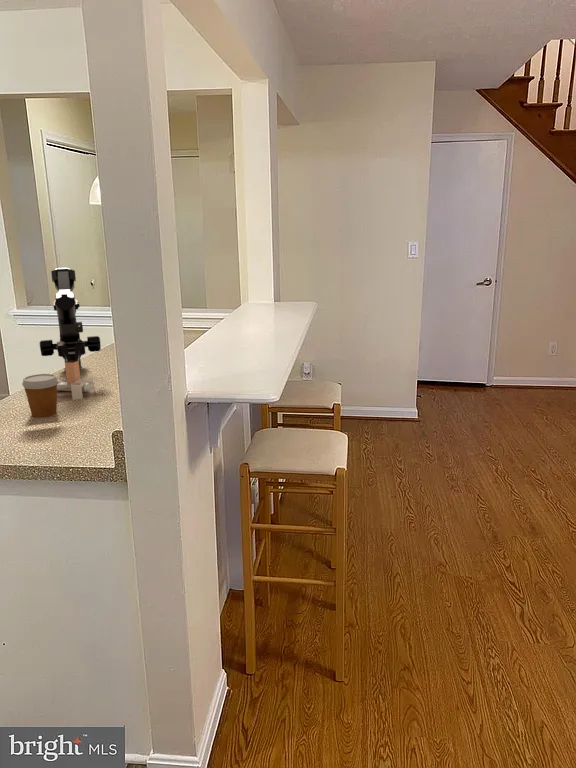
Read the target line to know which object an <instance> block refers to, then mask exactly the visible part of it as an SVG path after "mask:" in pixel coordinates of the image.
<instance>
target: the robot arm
mask: <svg viewBox="0 0 576 768" xmlns="http://www.w3.org/2000/svg"><path fill="white" fill-rule="evenodd" d="M50 273H51V280H52V283H54V287H55V289H56V291H58V292H57V293H55V300H53V303H52V304H53V305H52V306H53V311H55V312H56V314H57V315H56V316H57V321H58V328H59V340H58V341H56V343H53V339H44V340H40V341H39V349H40V354H41V356H42V357H50V356H53V355H54V354H55V351H57V356H58V357H60V358H61V357H62V359H63V361H64V363H65V362H67V361H70V360H75V361H79V369H82V368H83V366H82V361H81V357H82V356H84V355H86V348H87V350H88V351H89V352H91V353H92V352H100V351H101V347H102V346H101V338H100V336H99V335H93V336H90V335H89V336H87V337H86V338H87V339H86V340H83V338H81V337H80V333H84V328H83V327H84V325H83V321H77V316H76V313H77V310H79V308H80V302H79V301H78V299H76V298H75V293H73V291H74V289H75V287H76V286H75V282H77V280H76V279H77V278H76V271H75V269H71V268H69V267H56V268H55V269H54V270H51V271H50ZM63 369H64V372H66V369H65V367H64V368H63Z"/></svg>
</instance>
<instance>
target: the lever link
mask: <svg viewBox="0 0 576 768" xmlns="http://www.w3.org/2000/svg"><path fill="white" fill-rule="evenodd" d="M64 368H65V369H66V371H65V376H66V381H67V382H65V381H60V380H58V383H57V390H61V391H71V383H75V382H76V381H78V380H79V379H81V372H80V371H81V370H80V368H79V361H75V360H70V361H67V362H65V361H64ZM88 390H90V387H89V384H88V383H87V384H85V385H84V386H82V392H86V391H88Z"/></svg>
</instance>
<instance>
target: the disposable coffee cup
mask: <svg viewBox="0 0 576 768" xmlns="http://www.w3.org/2000/svg"><path fill="white" fill-rule="evenodd" d="M58 381H59V379H58V377H57V376H56V375H55V374H54V373H39V374H32V375H28V376H25V377H24V378H23V380H22V383H21V385H22V387H23V388H24V391H25V395H26V398H27V402H28V406H29V410H30V412H31V416H32V417H33V418H37V419H39V418H41V419H43V418H49V417H53V416H54V415H56V414H57V413H58V411H57V410H58V409H57V407H58V405H57V404H58V402H57V383H58Z"/></svg>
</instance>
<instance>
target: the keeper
mask: <svg viewBox="0 0 576 768" xmlns="http://www.w3.org/2000/svg"><path fill="white" fill-rule="evenodd" d="M88 379H89V378H80V379H79V380H78V381H76V382H75V383H71V391H72V399H73V400H72V401H77V400H76V399H79V400H84V399H83V396H82V386H84V385H85V384H87V383H88Z"/></svg>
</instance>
